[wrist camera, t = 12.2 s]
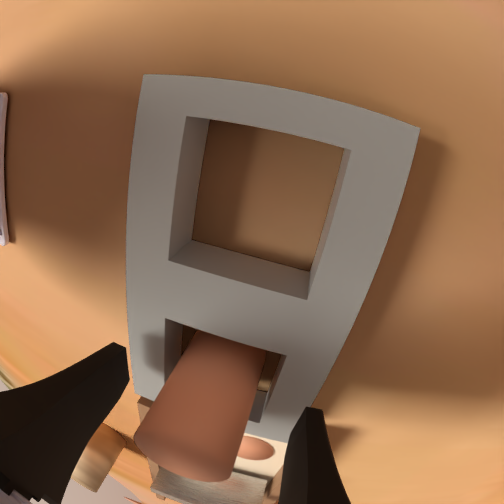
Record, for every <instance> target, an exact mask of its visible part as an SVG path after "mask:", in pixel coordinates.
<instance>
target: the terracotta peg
mask: <svg viewBox="0 0 504 504" xmlns="http://www.w3.org/2000/svg"><path fill="white" fill-rule="evenodd" d="M265 359H266V351H265V350H264V349H261V348H257V347H254V346H250V345H247V344H243V343H240V342H236V341H233V340H230V339H227V338H223V337H220V336H217V335H214V334H211V333H208V332H205V331H202V330H199V329H198V330H197V332H196V333H195V335H194V336H193V338H192V340H191V341H190V343H189V345H188V346H187V348H186V350H185V351H184V353H183V355H182V356H181V358H180V359H179V361H178V363H177V364H176V366H175V368H174V369H173V371H172V373H171V374H170V376H169V378H168V379H167V381H166V383H165V384H164V386H163V387H162V389H161V391H160V392H159V394H158V396H157V397H156V399H155V401H154V402H153V404H152V406H151V407H150V409H149V411H148V412H147V414H146V416H145V417H144V419H143V421H142V422H141V424H140V426H139V427H138V429H137V431H136V432H135V434H134V442H135V444H136V446H137V447H138V448H139V449H140V451H141V452H142V453H143V454H144V455H145V456H147V457H148V458H149V459H150V460H152V461H153V462H155V463H156V464H158V465H159V466H161V467H163V468H164V469H166V470H168V471H170V472H173V473H175V474H177V475H180V476H183V477H186V478H189V479H193V480H197V481H203V482H221V481H225V480H227V479H228V478H230V476H231V474H232V471H233V467H234V464H235V461H236V458H237V455H238V452H239V448H240V445H241V442H242V439H243V435H244V432H245V429H246V425H247V422H248V419H249V415H250V412H251V409H252V405H253V402H254V398H255V395H256V391H257V388H258V384H259V381H260V377H261V373H262V370H263V366H264V363H265Z"/></svg>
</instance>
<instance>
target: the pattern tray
mask: <svg viewBox="0 0 504 504" xmlns="http://www.w3.org/2000/svg"><path fill="white" fill-rule="evenodd" d="M153 402H154V401H152V400H150V399H147V398H145V397H143V396H141V398H140V399H139V401H138V402H137V404H138V410H139V417H140V423H141V422H142V421H143V419H144V417H145V416H146V414H147V412H148V411H149V409H150V407H151V406H152V404H153ZM287 444H288V443H284V442H279V441H275V440H271V439H267V438H263V437H259V436H255V435H251V434H247V433H244V435H243V439H242V442H241V445H240V448H239V452H238V455H237V458H236V461H235V464H234V467H233V471H232V472H236V473H240V474H244V475H247V476H252V477H256V478H260V479H265V480H267V483H266V488H265V492H264V496H263V500H262V504H274V503H275V502H276V501H277V500H278V499H279V495H280V488H281V480H282V473H283V465H284V457H285V453H286V448H287ZM147 459H148V463H149V468H150V472H151V476H152V480H153V481H154V479H155V477H156V475H157V473H158V471H159V469H160V467H161V466H159V465H158V464H156V463H155V462H153V461H152V460H150V459H149V458H148V457H147ZM156 496H157V498H159V499H162V500H165V498H166V497H164V496H161V495H159V494H156Z"/></svg>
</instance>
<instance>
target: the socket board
mask: <svg viewBox="0 0 504 504" xmlns="http://www.w3.org/2000/svg"><path fill="white" fill-rule="evenodd" d="M210 119H213V120H219V121H225V122H231V123H237V124H243V125H248V126H254V127H259V128H264V129H269V130H273V131H278V132H283V133H287V134H291V135H296V136H300V137H304V138H308V139H312V140H316V141H320V142H324V143H327V144H331V145H335V146H338V147H342V148H344V152H343V156H342V160H341V164H340V168H339V172H338V176H337V179H336V183H335V187H334V191H333V194H332V198H331V202H330V205H329V209H328V213H327V216H326V220H325V223H324V227H323V230H322V233H321V237H320V240H319V244H318V247H317V250H316V253H315V257H314V260H313V263H312V266H311V270H310V272H308V271H304V270H300V269H297V268H293V267H289V266H286V265H282V264H278V263H275V262H271V261H267V260H264V259H260V258H256V257H253V256H249V255H245V254H242V253H238V252H234V251H231V250H227V249H223V248H220V247H216V246H212V245H209V244H205V243H201V242H198V241H194V240H192V232H193V224H194V216H195V209H196V202H197V195H198V188H199V181H200V175H201V169H202V162H203V156H204V150H205V144H206V139H207V133H208V127H209V122H210ZM419 132H420V128H418V127H416V126H413V125H411V124H408V123H405V122H403V121H400V120H397V119H395V118H392V117H389V116H386V115H383V114H380V113H377V112H374V111H371V110H368V109H365V108H361V107H358V106H355V105H351V104H348V103H344V102H341V101H337V100H333V99H329V98H326V97H322V96H317V95H313V94H309V93H305V92H300V91H295V90H290V89H285V88H280V87H275V86H269V85H263V84H257V83H251V82H244V81H237V80H229V79H220V78H210V77H198V76H184V75H161V74H144V75H143V80H142V85H141V91H140V97H139V102H138V109H137V115H136V122H135V129H134V137H133V145H132V154H131V163H130V174H129V186H128V201H127V222H126V297H127V318H128V333H129V345H130V356H131V366H132V374H133V382H134V390H135V393H136V394H138V395H140V396H143V397H145V398H147V399H150V400H152V401H155V399H156V397H157V396H158V394H159V392H160V391H161V389H162V387H163V386H164V384H165V383H166V381H167V379H168V378H169V376H170V374H171V373H172V371H173V369H174V368H175V366H176V364H177V363H178V361H179V359H180V358H181V346H182V332H183V324H184V325H187V326H190V327H193V328H196V329H199V330H202V331H205V332H208V333H211V334H214V335H217V336H220V337H223V338H227V339H230V340H233V341H236V342H240V343H243V344H247V345H250V346H254V347H257V348H261V349H264V350H268V351H271V352H275V353H279V354H282V355H281V358H280V361H279V363H278V366H277V369H276V371H275V374H274V377H273V379H272V382H271V384H270V387H269V390H268V392H263V391H259V390H257V391H256V395H255V398H254V402H253V405H252V409H251V412H250V415H249V419H248V422H247V425H246V429H245V432H244V433H247V434H251V435H255V436H259V437H263V438H267V439H271V440H275V441H279V442H284V443H288V440H289V436H290V433H291V431H292V429H293V428H294V426H295V424H296V423H297V421H298V419H299V418H300V416H301V414H302V412H303V411H304V409H305V407H311V405H312V403H313V402H314V400H315V398H316V396H317V394H318V393H319V391H320V389H321V387H322V385H323V384H324V382H325V380H326V378H327V376H328V374H329V372H330V371H331V369H332V367H333V365H334V363H335V361H336V359H337V357H338V355H339V353H340V351H341V349H342V347H343V345H344V343H345V341H346V339H347V337H348V335H349V332H350V330H351V328H352V326H353V324H354V322H355V320H356V317H357V315H358V313H359V311H360V308H361V306H362V304H363V302H364V299H365V297H366V295H367V292H368V290H369V287H370V285H371V283H372V280H373V278H374V275H375V273H376V270H377V268H378V265H379V262H380V260H381V257H382V254H383V252H384V249H385V246H386V244H387V241H388V238H389V235H390V232H391V230H392V227H393V224H394V221H395V218H396V215H397V212H398V209H399V205H400V202H401V199H402V196H403V192H404V189H405V186H406V182H407V179H408V175H409V172H410V168H411V164H412V161H413V157H414V153H415V149H416V145H417V141H418V137H419Z"/></svg>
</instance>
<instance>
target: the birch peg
mask: <svg viewBox="0 0 504 504" xmlns="http://www.w3.org/2000/svg"><path fill="white" fill-rule="evenodd" d="M125 444H126V442H125V440H124V438H123V437H122V436H121V435H120V434H119V433H117V432H116V431H115V430H114V429H112V428H111V427H109V426H107V425H105V424H103V423H101V425H100V426H99V428H98V429H97V430H96V432H95V433H94V434H93V436H92V437H91V439H90V440H89V442H88V444H87V446H86V447H85V449H84V451H83V453H82V455H81V457H80V459H79V461H78V463H77V465H76V467H75V469H74V471H73V473H72V476H71V478H72V479H73V480H75V481H76V482H78V483H79V484H80V485H82V486H84V487H86V488H87V489H89V490H91V491H93V492H97V491H98V489H99V487H100V486H101V484H102V482H103V481H104V479H105V477H106V476H107V474H108V472H109V471H110V469H111V467H112V466H113V464H114V463H115V461H116V459H117V458H118V456H119V454H120V453H121V451H122V449H123V448H124V446H125Z"/></svg>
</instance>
